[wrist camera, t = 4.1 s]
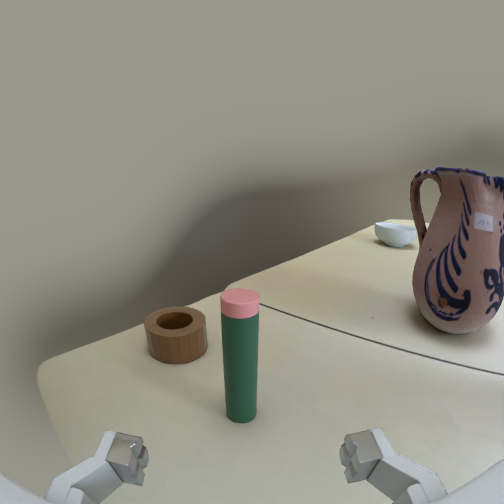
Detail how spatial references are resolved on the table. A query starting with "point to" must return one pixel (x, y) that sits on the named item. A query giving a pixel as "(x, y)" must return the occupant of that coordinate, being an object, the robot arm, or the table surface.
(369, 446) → the robot arm
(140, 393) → the table surface
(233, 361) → the pink-capped green cylinder
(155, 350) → the brown hollow cylinder
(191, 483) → the table surface
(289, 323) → the table surface
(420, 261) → the ceramic pitcher
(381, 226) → the cereal bowl
